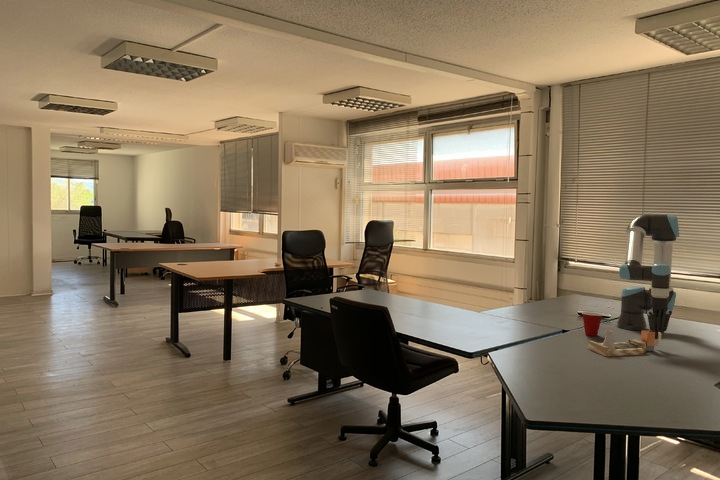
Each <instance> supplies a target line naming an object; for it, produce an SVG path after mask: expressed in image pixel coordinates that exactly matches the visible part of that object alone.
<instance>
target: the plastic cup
mask: <svg viewBox="0 0 720 480" xmlns="http://www.w3.org/2000/svg"><path fill="white" fill-rule="evenodd" d="M581 315H582V319H583V320H582V321H583V326H584V334H585V336H587V337H588V336H589V337H598V333H599V329H600V325H601V322H602V318H603V316H604V314H603V313H599V312H591V311H590V312H588V311H581Z"/></svg>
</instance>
